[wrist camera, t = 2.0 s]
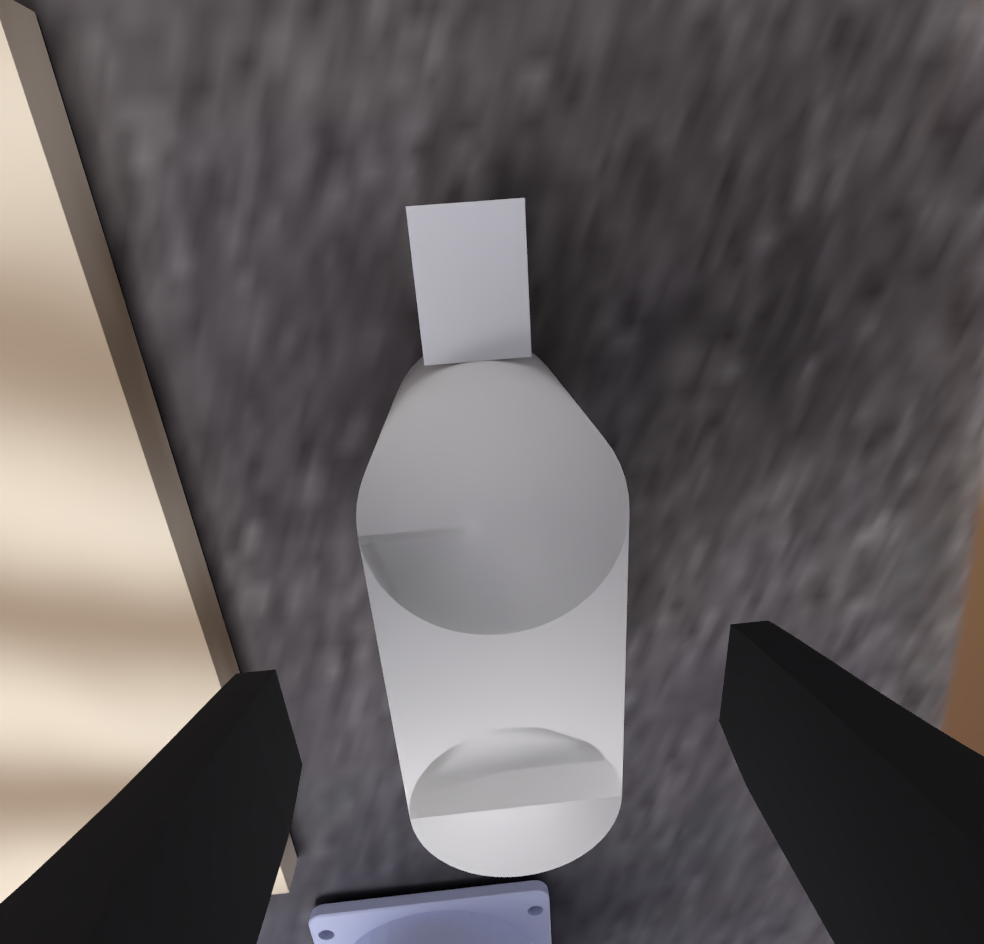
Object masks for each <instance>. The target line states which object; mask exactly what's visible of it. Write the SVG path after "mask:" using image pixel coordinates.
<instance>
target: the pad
mask: <svg viewBox="0 0 984 944" xmlns="http://www.w3.org/2000/svg"><path fill="white" fill-rule="evenodd" d="M238 673H240V672H239V668H238V665H237V662H236V659H235V656H234V652H233V649H232V646H231V643H230V639H229V636H228V633H227V630H226V627H225V623H224V620H223V617H222V614H221V610H220V607H219V604H218V601H217V598H216V594H215V591H214V588H213V585H212V581H211V578H210V575H209V572H208V569H207V565H206V562H205V559H204V556H203V552H202V549H201V546H200V543H199V540H198V536H197V533H196V530H195V527H194V523H193V520H192V517H191V514H190V511H189V507H188V504H187V501H186V498H185V494H184V491H183V488H182V485H181V482H180V478H179V475H178V472H177V469H176V465H175V462H174V459H173V456H172V453H171V449H170V446H169V443H168V440H167V436H166V433H165V430H164V427H163V424H162V420H161V417H160V414H159V411H158V407H157V404H156V401H155V398H154V395H153V391H152V388H151V385H150V382H149V378H148V375H147V372H146V369H145V366H144V362H143V359H142V356H141V353H140V349H139V346H138V343H137V340H136V337H135V333H134V330H133V327H132V324H131V320H130V317H129V314H128V311H127V308H126V304H125V301H124V298H123V295H122V291H121V288H120V285H119V282H118V279H117V275H116V272H115V269H114V266H113V262H112V259H111V256H110V253H109V250H108V246H107V243H106V240H105V237H104V233H103V230H102V227H101V224H100V221H99V217H98V214H97V211H96V208H95V204H94V201H93V198H92V195H91V192H90V188H89V185H88V182H87V179H86V175H85V172H84V169H83V166H82V163H81V159H80V156H79V153H78V150H77V146H76V143H75V140H74V137H73V134H72V130H71V127H70V124H69V121H68V117H67V114H66V111H65V108H64V105H63V101H62V98H61V95H60V92H59V88H58V85H57V82H56V79H55V76H54V72H53V69H52V66H51V63H50V60H49V56H48V53H47V50H46V47H45V43H44V40H43V37H42V34H41V31H40V27H39V24H38V21H37V18H36V14H35V12H33V11H32V10H30V9H28V8H26V7H25V6H23V5H21V4H19V3H18V2H16V1H14V0H0V903H1V902H2V901H4V900H5V899H6V898H7V897H8V896H9V895H10V894H11V893H13V892H14V891H15V890H16V889H17V888H18V887H19V886H20V885H21V884H23V883H24V882H25V881H26V880H27V879H28V878H29V877H30V876H31V875H32V874H33V873H35V872H36V871H37V870H38V869H39V868H40V867H41V866H42V865H43V864H44V863H45V862H46V861H47V860H48V859H49V858H50V857H51V856H53V855H54V854H55V853H56V852H57V851H58V850H59V849H60V848H61V847H62V846H63V845H64V844H65V843H66V842H67V841H68V840H69V839H71V838H72V837H73V836H74V835H75V834H76V833H77V832H78V831H79V830H80V829H81V828H82V827H83V826H84V825H85V824H86V823H87V822H89V821H90V820H91V819H92V818H93V817H94V816H95V815H96V814H97V813H98V812H99V811H100V810H101V809H102V808H103V807H104V806H105V805H107V804H108V803H109V802H110V801H111V800H112V799H113V798H114V797H115V796H116V795H117V794H118V793H119V792H120V791H121V790H122V789H123V788H124V787H125V786H126V785H127V784H128V783H129V782H130V781H131V780H132V779H133V778H134V777H135V776H136V775H137V774H138V773H139V772H140V771H141V770H142V769H143V768H144V767H145V766H146V765H147V764H148V763H149V762H150V761H151V760H152V759H153V758H154V757H155V756H156V755H157V754H158V752H159V751H160V750H161V749H162V748H163V747H164V746H165V745H166V744H167V743H168V742H169V741H170V740H171V739H172V738H173V737H174V736H175V735H176V734H177V733H178V732H179V731H180V730H181V729H182V728H183V727H184V726H185V725H186V724H187V723H188V722H189V721H190V720H191V719H192V718H193V717H194V716H195V715H196V713H197V712H198V711H199V710H200V709H201V708H202V707H203V706H204V705H205V704H206V703H207V702H208V701H209V700H210V699H211V698H212V697H213V696H214V695H215V694H216V693H217V692H218V691H219V690H220V689H221V688H222V687H223V686H224V685H225V684H226V683H227V682H228V681H229V680H230V679H231V678H232V677H233V676H234V675H235V674H238ZM297 860H298V859H297V855H296V852H295V849H294V846H293V842H292V839H291V836H290V833H289V837H288V840H287V844H286V847H285V851H284V854H283V857H282V861H281V864H280V867H279V871H278V874H277V877H276V881H275V884H274V887H273V891H272V894H281V893H289V891H290V887H291V883H292V879H293V875H294V871H295V867H296V863H297ZM272 894H271V895H272Z"/></svg>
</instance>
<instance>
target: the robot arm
mask: <svg viewBox="0 0 984 944" xmlns="http://www.w3.org/2000/svg"><path fill="white" fill-rule="evenodd" d="M719 721H720V724H721V726H722V729H723V731H724V734H725V736H726V739H727V741H728V744H729V746H730V748H731V751H732V753H733V756H734V758H735V760H736V763H737V765H738V767H739V770H740V772H741V774H742V776H743V779H744V781H745V783H746V786H747V787H748V789H749V791H750V793H751V795H752V797H753V799H754V800H755V802H756V804H757V806H758V808H759V810H760V811H761V813H762V815H763V817H764V819H765V820H766V822H767V824H768V826H769V828H770V829H771V831H772V833H773V835H774V837H775V838H776V840H777V842H778V844H779V846H780V847H781V849H782V851H783V853H784V854H785V856H786V858H787V860H788V861H789V863H790V865H791V867H792V869H793V870H794V872H795V874H796V876H797V877H798V879H799V881H800V883H801V885H802V886H803V888H804V890H805V892H806V893H807V895H808V897H809V899H810V901H811V902H812V904H813V906H814V908H815V909H816V911H817V913H818V915H819V917H820V918H821V920H822V922H823V924H824V925H825V927H826V929H827V931H828V933H829V934H830V936H831V938H832V940H833V941H834V943H835V944H984V757H983V756H982V755H980V754H978V753H977V752H975V751H973V750H972V749H970V748H968V747H966V746H965V745H963V744H961V743H960V742H958V741H956V740H955V739H953V738H951V737H950V736H948V735H947V734H945V733H943V732H942V731H940V730H938V729H937V728H935V727H933V726H932V725H930V724H929V723H927V722H925V721H924V720H922V719H921V718H919V717H917V716H916V715H914V714H913V713H911V712H909V711H908V710H906V709H905V708H903V707H902V706H900V705H898V704H897V703H895V702H894V701H892V700H891V699H889V698H887V697H886V696H884V695H883V694H881V693H880V692H878V691H877V690H875V689H873V688H872V687H870V686H869V685H867V684H866V683H864V682H863V681H861V680H860V679H858V678H857V677H855V676H853V675H852V674H850V673H849V672H847V671H846V670H844V669H843V668H841V667H840V666H838V665H837V664H835V663H834V662H832V661H831V660H829V659H828V658H826V657H825V656H823V655H822V654H820V653H818V652H817V651H815V650H814V649H812V648H811V647H809V646H808V645H806V644H805V643H803V642H802V641H800V640H799V639H797V638H795V637H794V636H792V635H791V634H789V633H788V632H786V631H784V630H783V629H781V628H780V627H778V626H776V625H775V624H773V623H771V622H770V621H760V622H750V623H740V624H731V626H730V634H729V643H728V651H727V660H726V668H725V677H724V685H723V694H722V702H721V711H720V719H719ZM301 769H302V762H301V759H300V755H299V752H298V748H297V744H296V741H295V737H294V734H293V730H292V727H291V723H290V720H289V716H288V713H287V709H286V706H285V702H284V698H283V695H282V691H281V688H280V684H279V681H278V677H277V674H276V670H268V671H258V672H248V673H238V674H235V675H234V676H233V677H232V678H231V679H230V680H229V681H228V682H227V683H226V684H225V685H224V686H223V687H222V688H221V689H220V690H219V691H218V692H217V693H216V694H215V695H214V696H213V697H212V698H211V699H210V700H209V701H208V702H207V703H206V704H205V705H204V706H203V707H202V708H201V709H200V710H199V711H198V712H197V713H196V715H195V716H194V717H193V718H192V719H191V720H190V721H189V722H188V723H187V724H186V725H185V726H184V727H183V728H182V729H181V730H180V731H179V732H178V733H177V734H176V735H175V736H174V737H173V738H172V739H171V740H170V741H169V742H168V743H167V744H166V745H165V746H164V747H163V748H162V749H161V750H160V751H159V752H158V754H157V755H156V756H155V757H154V758H153V759H152V760H151V761H150V762H149V763H148V764H147V765H146V766H145V767H144V768H143V769H142V770H141V771H140V772H139V773H138V774H137V775H136V776H135V777H134V778H133V779H132V780H131V781H130V782H129V783H128V784H127V785H126V786H125V787H124V788H123V789H122V790H121V791H120V792H119V793H118V794H117V795H116V796H115V797H114V798H113V799H112V800H111V801H110V802H109V803H108V804H107V805H105V806H104V807H103V808H102V809H101V810H100V811H99V812H98V813H97V814H96V815H95V816H94V817H93V818H92V819H91V820H90V821H89V822H87V823H86V824H85V825H84V826H83V827H82V828H81V829H80V830H79V831H78V832H77V833H76V834H75V835H74V836H73V837H72V838H71V839H69V840H68V841H67V842H66V843H65V844H64V845H63V846H62V847H61V848H60V849H59V850H58V851H57V852H56V853H55V854H54V855H53V856H51V857H50V858H49V859H48V860H47V861H46V862H45V863H44V864H43V865H42V866H41V867H40V868H39V869H38V870H37V871H36V872H35V873H33V874H32V875H31V876H30V877H29V878H28V879H27V880H26V881H25V882H24V883H23V884H21V885H20V886H19V887H18V888H17V889H16V890H15V891H14V892H13V893H11V894H10V895H9V896H8V897H7V898H6V899H5V900H4V901H2V902H1V903H0V944H256V943H257V940H258V936H259V933H260V930H261V927H262V923H263V920H264V917H265V914H266V910H267V907H268V904H269V901H270V897H271V894H272V891H273V887H274V884H275V881H276V877H277V874H278V871H279V867H280V864H281V861H282V857H283V854H284V851H285V847H286V844H287V840H288V837H289V832H290V827H291V823H292V818H293V813H294V808H295V803H296V797H297V791H298V786H299V780H300V774H301ZM309 928H310V932H311V935H312V938H313V941H314V944H552V941H551V921H550V901H549V892H548V887H547V885H546V884H545V883H543V882H542V881H539V880H529V881H521V882H512V883H503V884H494V885H486V886H477V887H468V888H459V889H451V890H442V891H433V892H424V893H416V894H407V895H398V896H389V897H381V898H372V899H363V900H354V901H345V902H337V903H328V904H322V905H318V906H317V907H315V908H314V909H313V910H312V911H311V914H310V919H309Z"/></svg>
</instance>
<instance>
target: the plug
mask: <svg viewBox="0 0 984 944" xmlns="http://www.w3.org/2000/svg"><path fill="white" fill-rule="evenodd" d="M406 213H407V222H408V230H409V239H410V248H411V256H412V265H413V273H414V282H415V290H416V299H417V307H418V316H419V324H420V333H421V341H422V350H423V356H422V357H421V358H420V359H419V360H418V361H417V362H416V363H415V364H414V365H413V366H412V367H411V368H410V370H409V371H408V373H407V374H406V376H405V377H404V379H403V381H402V383H401V385H400V386H399V389H398V391H397V394H396V396H395V399H394V401H393V404H392V406H391V409H390V411H389V414H388V416H387V419H386V421H385V424H384V426H383V429H382V431H381V434H380V436H379V439H378V441H377V444H376V446H375V449H374V451H373V454H372V456H371V459H370V461H369V464H368V466H367V469H366V471H365V474H364V477H363V480H362V483H361V485H360V489H359V494H358V500H357V509H356V524H357V534H358V540H359V546H360V551H361V556H362V562H363V567H364V573H365V578H366V583H367V589H368V594H369V600H370V605H371V610H372V616H373V621H374V627H375V632H376V637H377V643H378V648H379V654H380V659H381V664H382V670H383V675H384V681H385V686H386V691H387V697H388V702H389V708H390V713H391V718H392V724H393V729H394V735H395V740H396V745H397V751H398V756H399V762H400V767H401V772H402V778H403V783H404V789H405V794H406V799H407V805H408V810H409V816H410V820H411V824H412V827H413V830H414V832H415V834H416V836H417V838H418V839H419V841H420V842H421V843H422V845H423V846H424V847H425V848H426V849H427V850H428V851H429V852H430V853H431V854H433V855H434V856H435V857H437V858H438V859H439V860H441V861H443V862H445V863H446V864H448V865H450V866H452V867H455V868H457V869H459V870H463V871H466V872H469V873H473V874H478V875H483V876H492V877H517V876H526V875H533V874H537V873H542V872H546V871H549V870H552V869H555V868H558V867H561V866H563V865H565V864H567V863H570V862H572V861H573V860H575V859H577V858H579V857H581V856H582V855H584V854H585V853H586V852H588V851H589V850H591V849H592V848H593V847H594V846H595V845H597V844H598V843H599V842H600V841H601V840H602V839H603V838H604V836H605V835H606V834H607V833H608V832H609V830H610V829H611V827H612V826H613V824H614V822H615V820H616V818H617V816H618V813H619V810H620V806H621V799H622V774H623V736H624V698H625V661H626V623H627V586H628V548H629V494H628V489H627V484H626V479H625V476H624V473H623V470H622V468H621V465H620V463H619V461H618V459H617V457H616V455H615V453H614V451H613V449H612V448H611V447H610V445H609V444H608V443H607V441H606V440H605V439H604V437H603V436H602V435H601V433H600V432H599V431H598V430H597V428H596V427H595V426H594V425H593V423H592V422H591V421H590V420H589V418H588V417H587V416H586V414H585V413H584V412H583V411H582V409H581V408H580V407H579V406H578V404H577V403H576V402H575V401H574V399H573V398H572V397H571V396H570V394H569V393H568V392H567V391H566V389H565V388H564V387H563V386H562V384H561V383H560V382H559V381H558V379H557V378H556V377H555V376H554V374H553V373H552V372H551V371H550V369H549V368H548V367H547V366H546V365H545V364H544V363H543V362H542V361H541V360H540V359H539V357H537V356H536V355H535V354H533V353H532V352H531V332H530V309H529V286H528V263H527V240H526V217H525V198H514V199H501V200H487V201H474V202H460V203H446V204H433V205H419V206H406Z"/></svg>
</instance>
